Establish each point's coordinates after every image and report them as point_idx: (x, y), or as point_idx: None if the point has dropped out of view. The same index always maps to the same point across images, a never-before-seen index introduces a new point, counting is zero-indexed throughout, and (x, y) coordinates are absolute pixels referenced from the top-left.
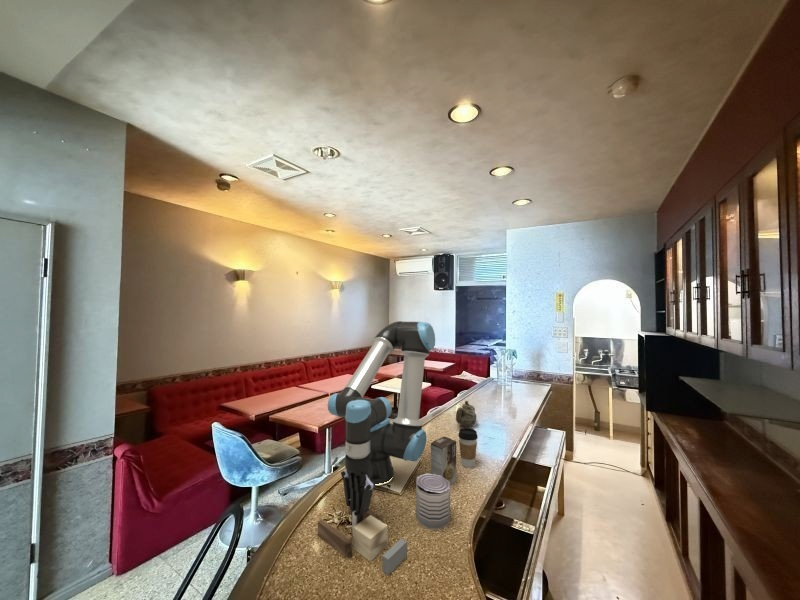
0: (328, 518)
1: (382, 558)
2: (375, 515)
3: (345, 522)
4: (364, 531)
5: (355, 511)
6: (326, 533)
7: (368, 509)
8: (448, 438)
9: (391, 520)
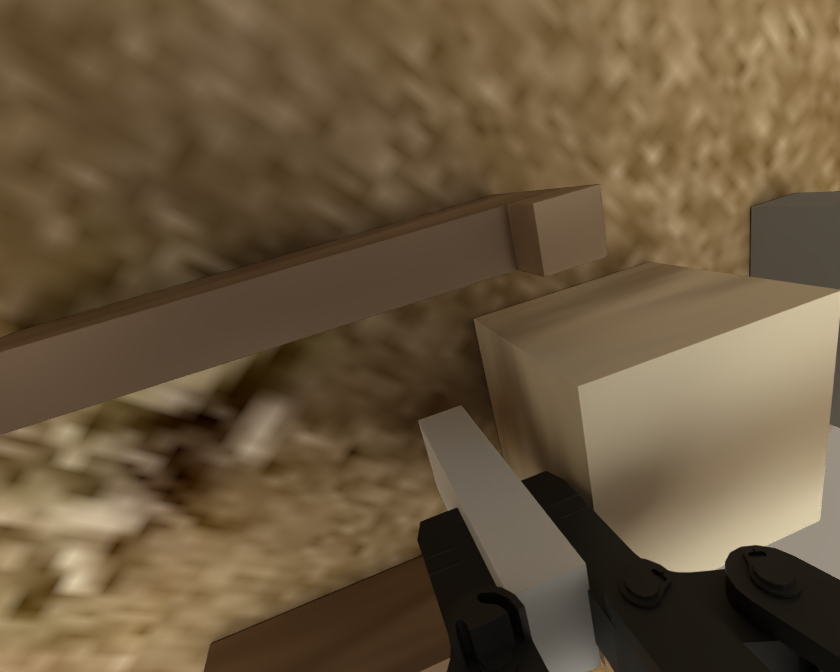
0: (27, 576)
1: (835, 425)
2: (480, 248)
3: (184, 450)
4: (724, 539)
5: (553, 659)
6: None
7: (820, 579)
8: None
9: (430, 6)
